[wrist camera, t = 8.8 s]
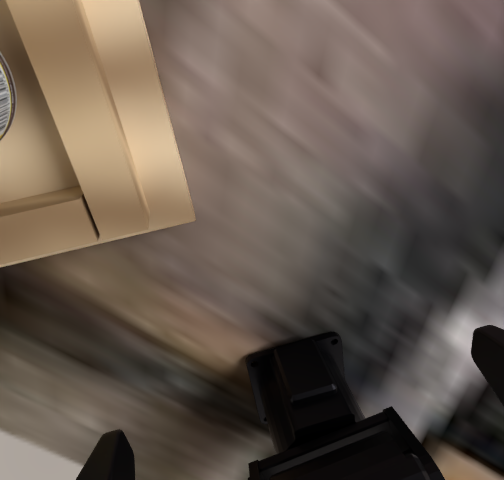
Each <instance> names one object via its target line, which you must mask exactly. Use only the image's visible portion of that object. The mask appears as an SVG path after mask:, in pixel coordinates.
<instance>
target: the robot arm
mask: <svg viewBox="0 0 504 480" xmlns="http://www.w3.org/2000/svg"><path fill="white" fill-rule="evenodd" d="M333 339H335V340H333ZM332 340H333V341H332ZM471 355H472V358H473V360H474V362H475V364H476V365H477V367H478V368H479V370H480V371H481V373H482V374H483V376H484V377H485V379H486V380H487V382H488V383H489V385H490V386H491V388H492V389H493V391H494V392H495V394H496V395H497V397H498V398H499V400H500V401H501V403H502V404H503V406H504V330H503V329H501V328H498V327H496V326H493V325H487V326H483V327H480V328H477V329H475V330H474V333H473V340H472V348H471ZM253 361H256V362H254V363H252V362H253ZM246 365H247V369H248V373H249V377H250V381H251V385H252V389H253V393H254V397H255V401H256V405H257V410H258V414H259V418H260V421H261V423H263V424H268V427H269V430H270V434H271V438H272V442H273V445H274V449H275V453H276V455H273V456H271V457H268V458H266V459H263V460H261V461H258V460H256V461H253V462H251V463H249V473H250V477H249V478H248V480H445V479H444V477H443V475H442V473H441V472H440V470H439V468H438V467H437V465H436V464H435V462H434V461H433V459H432V458H431V456H430V455H429V454H428V452H427V451H426V450H425V448H424V447H423V446H422V445H421V443H420V442H419V441H418V439H417V438H416V437H415V436H414V434H413V433H412V432H411V430H410V429H409V428H408V427H407V425H406V424H405V423H404V421H403V420H402V419H401V418H400V416H399V415H398V414H397V412H396V411H395V410H394V409H393V407H392V406H391V407H389V408H386V409H384V410H383V412H381V413H378V414H376V415H373V416H371V417H368V418H366V419H365V417H364V415H363V413H362V411H361V409H360V407H359V406H358V404H357V402H356V400H355V398H354V396H353V394H352V392H351V390H350V389H349V387H348V385H347V383H346V381H345V376H344V364H343V352H342V340H341V337H340V336H339V334H338V333H336V332H331V333H328V334H324V335H320V336H317V337H313V338H309V339H306V340H302V341H298V342H295V343H291V344H287V345H284V346H280V347H276V348H273V349H269V350H266V351H262V352H258V353H255V354H251V355H249V356H248V357H247V358H246ZM76 480H135V462H134V454H133V450H132V448H131V446H130V444H129V442H128V440H127V438H126V436H125V434H124V432H123V431H122V430H120V429H119V430H115V431H111V432H107V433H105V434H103V435H102V437H101V438H100V440H99V441H98V443H97V445H96V447H95V448H94V450H93V452H92V453H91V455H90V457H89V458H88V460H87V462H86V463H85V465H84V467H83V468H82V470H81V472H80V473H79V475H78V477H77V478H76Z"/></svg>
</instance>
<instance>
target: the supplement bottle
mask: <svg viewBox="0 0 504 480" xmlns="http://www.w3.org/2000/svg"><path fill="white" fill-rule="evenodd" d="M16 107H17V93H16V87H15V82H14V79H13V76H12V73H11V70H10V68H9V66H8V64H7V62H6V60H5V58H4V57H3V55H2V54H1V52H0V141H1V140H2V139H3V137H4V136H5V135H6V134H7V132H8V131H9V129H10V127H11V125H12V123H13V120H14V117H15V113H16Z"/></svg>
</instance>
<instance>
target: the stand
mask: <svg viewBox="0 0 504 480" xmlns="http://www.w3.org/2000/svg"><path fill="white" fill-rule="evenodd" d="M0 52H1V54H2V55H3V57H4V58H5V60H6V62H7V64H8V66H9V68H10V70H11V73H12V76H13V79H14V82H15V87H16V93H17V107H16V113H15V117H14V120H13V123H12V125H11V127H10V129H9V131H8V132H7V134H6V135H5V136H4V137H3V139H2V140H1V141H0V267H4V266H8V265H13V264H17V263H21V262H25V261H29V260H34V259H38V258H42V257H46V256H50V255H55V254H59V253H63V252H67V251H71V250H75V249H80V248H84V247H88V246H92V245H96V244H101V243H105V242H109V241H113V240H117V239H122V238H126V237H130V236H134V235H138V234H142V233H147V232H151V231H155V230H159V229H163V228H168V227H172V226H176V225H180V224H184V223H189V222H193V221H196V219H195V213H194V208H193V204H192V200H191V196H190V193H189V189H188V185H187V181H186V178H185V174H184V170H183V166H182V162H181V159H180V155H179V151H178V147H177V143H176V140H175V136H174V132H173V128H172V124H171V121H170V117H169V113H168V109H167V105H166V102H165V98H164V94H163V90H162V86H161V83H160V79H159V75H158V71H157V67H156V64H155V60H154V56H153V52H152V49H151V45H150V41H149V37H148V33H147V30H146V26H145V22H144V18H143V14H142V11H141V7H140V3H139V0H0Z"/></svg>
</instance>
